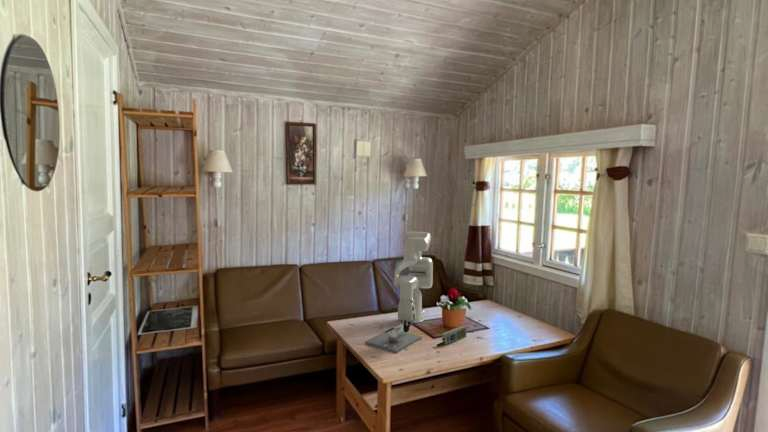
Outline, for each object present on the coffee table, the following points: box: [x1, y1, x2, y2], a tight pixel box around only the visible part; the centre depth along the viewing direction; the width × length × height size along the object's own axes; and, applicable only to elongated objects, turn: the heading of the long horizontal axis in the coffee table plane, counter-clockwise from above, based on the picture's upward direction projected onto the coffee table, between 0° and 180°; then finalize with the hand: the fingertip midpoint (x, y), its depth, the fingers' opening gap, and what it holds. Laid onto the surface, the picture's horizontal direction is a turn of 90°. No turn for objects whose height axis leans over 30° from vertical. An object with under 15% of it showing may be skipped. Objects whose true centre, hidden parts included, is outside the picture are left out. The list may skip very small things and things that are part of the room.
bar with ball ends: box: [384, 323, 412, 343], centre depth 250 cm, size 25×5×8 cm, turn 143°
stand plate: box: [364, 330, 423, 354], centre depth 250 cm, size 26×22×2 cm
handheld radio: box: [436, 325, 467, 347], centre depth 250 cm, size 7×3×25 cm
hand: (406, 331), depth 250 cm, fingers closed
